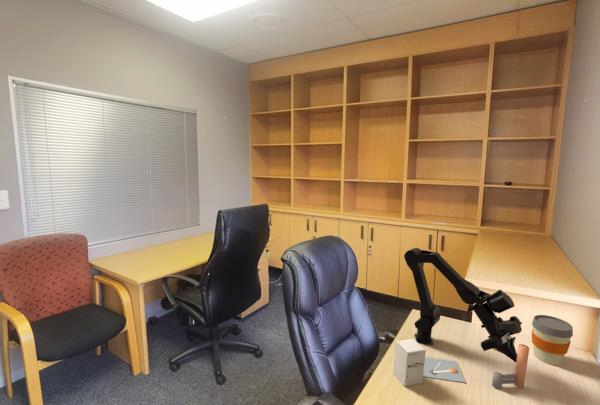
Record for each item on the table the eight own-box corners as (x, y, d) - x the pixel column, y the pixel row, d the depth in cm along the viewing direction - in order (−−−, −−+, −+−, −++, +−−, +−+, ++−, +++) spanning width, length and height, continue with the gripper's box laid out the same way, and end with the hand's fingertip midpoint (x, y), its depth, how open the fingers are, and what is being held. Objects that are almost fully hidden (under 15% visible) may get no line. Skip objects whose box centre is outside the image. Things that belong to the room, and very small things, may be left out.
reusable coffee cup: (575, 370, 121) (581, 333, 119) (537, 365, 123) (542, 328, 121) (556, 351, 133) (561, 316, 131) (522, 346, 135) (526, 312, 133)
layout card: (417, 356, 126) (417, 355, 126) (455, 361, 124) (456, 360, 124) (423, 376, 115) (423, 375, 115) (465, 383, 112) (465, 382, 112)
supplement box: (404, 387, 109) (407, 352, 107) (392, 373, 116) (394, 340, 114) (423, 383, 111) (426, 349, 109) (410, 370, 118) (413, 337, 116)
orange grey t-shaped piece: (495, 389, 109) (500, 350, 107) (490, 382, 112) (494, 344, 110) (526, 387, 110) (531, 349, 108) (519, 381, 113) (524, 344, 111)
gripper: (493, 317, 110) (526, 364, 102) (518, 304, 120) (550, 346, 113) (468, 328, 117) (497, 373, 110) (493, 315, 128) (521, 355, 120)
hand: (517, 361), depth 113 cm, fingers closed
